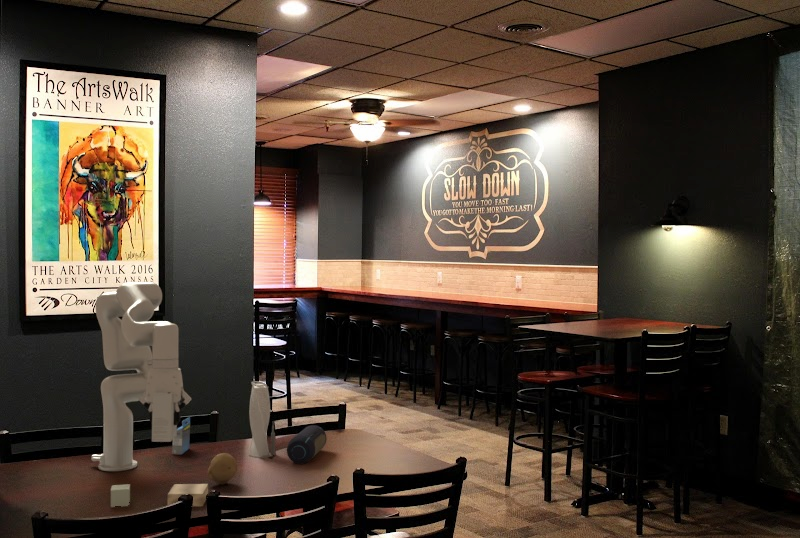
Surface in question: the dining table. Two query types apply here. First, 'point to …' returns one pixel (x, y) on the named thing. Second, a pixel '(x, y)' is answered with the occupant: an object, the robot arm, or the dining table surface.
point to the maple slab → (193, 489)
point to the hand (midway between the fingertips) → (165, 423)
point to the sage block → (120, 495)
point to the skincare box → (163, 417)
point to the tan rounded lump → (222, 468)
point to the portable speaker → (306, 444)
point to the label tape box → (182, 438)
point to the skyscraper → (260, 421)
